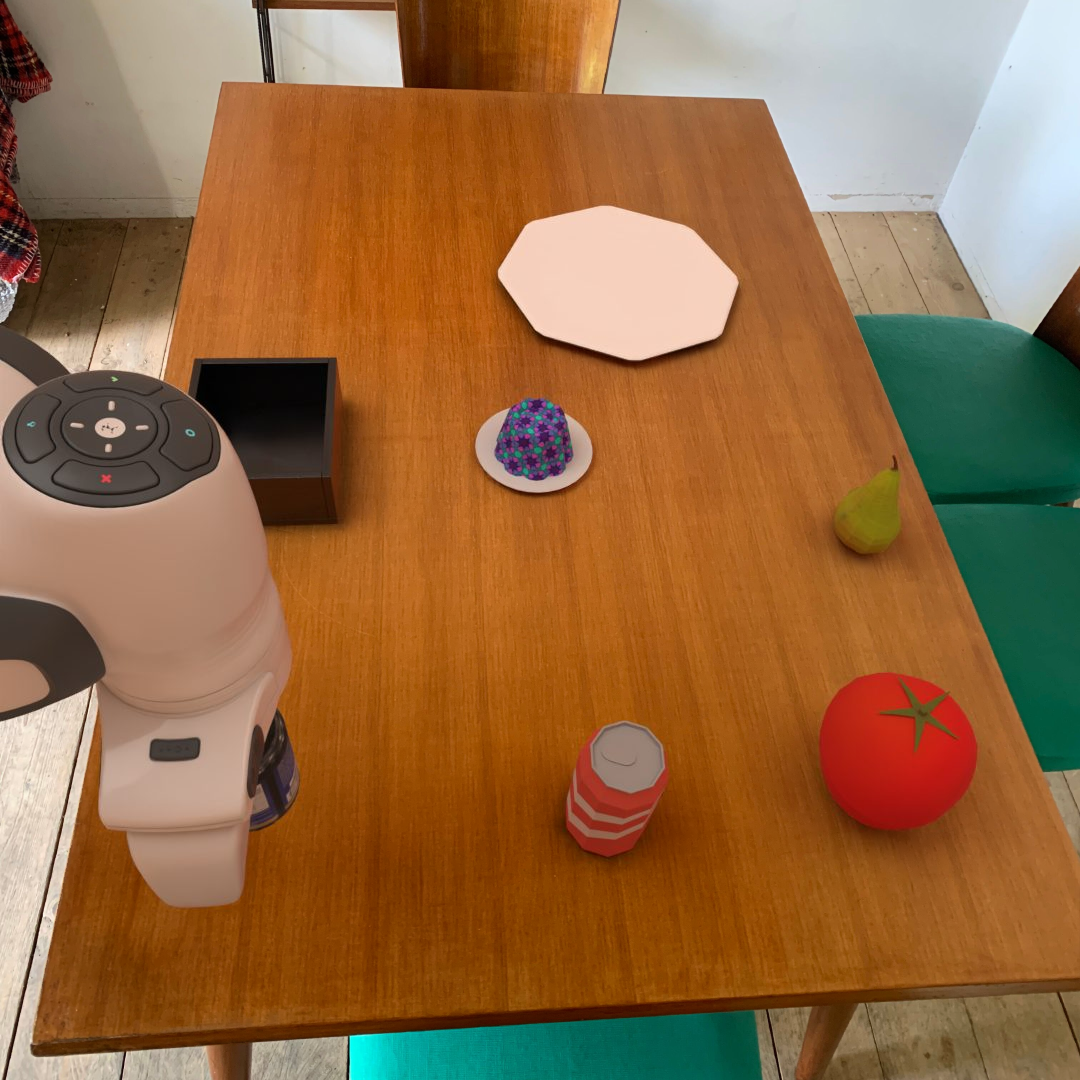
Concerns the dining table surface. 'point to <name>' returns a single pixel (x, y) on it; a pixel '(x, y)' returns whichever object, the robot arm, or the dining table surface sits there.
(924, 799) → the tomato
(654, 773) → the beverage can
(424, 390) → the dining table surface
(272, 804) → the pill bottle
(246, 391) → the open box
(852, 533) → the fruit
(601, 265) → the plate
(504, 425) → the pudding
